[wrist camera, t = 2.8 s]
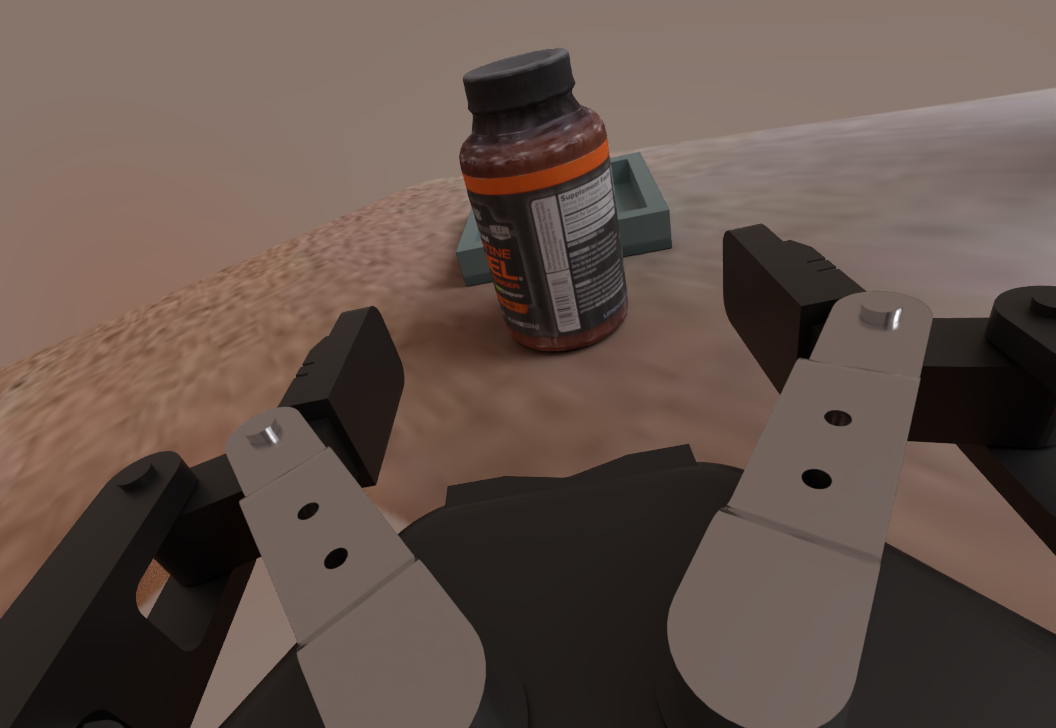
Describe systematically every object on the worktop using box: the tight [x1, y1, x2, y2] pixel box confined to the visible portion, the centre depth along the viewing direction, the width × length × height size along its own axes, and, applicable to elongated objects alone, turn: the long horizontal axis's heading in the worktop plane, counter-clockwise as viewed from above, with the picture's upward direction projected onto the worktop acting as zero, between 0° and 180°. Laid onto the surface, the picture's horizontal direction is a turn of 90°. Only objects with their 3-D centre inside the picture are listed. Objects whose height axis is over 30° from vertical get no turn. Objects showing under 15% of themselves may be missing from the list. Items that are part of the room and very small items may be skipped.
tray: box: [456, 152, 672, 286], centre depth 35 cm, size 12×12×2 cm
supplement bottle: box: [459, 48, 628, 351], centre depth 22 cm, size 6×6×11 cm
